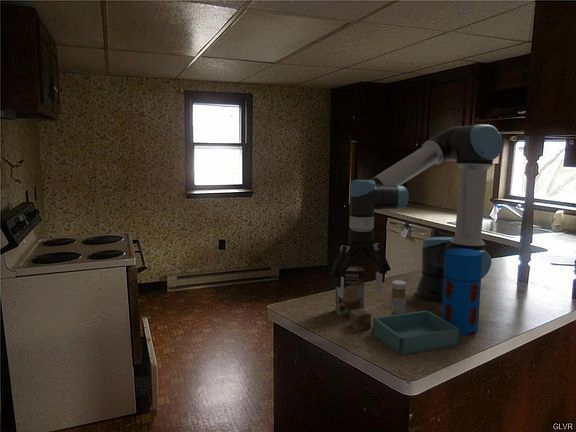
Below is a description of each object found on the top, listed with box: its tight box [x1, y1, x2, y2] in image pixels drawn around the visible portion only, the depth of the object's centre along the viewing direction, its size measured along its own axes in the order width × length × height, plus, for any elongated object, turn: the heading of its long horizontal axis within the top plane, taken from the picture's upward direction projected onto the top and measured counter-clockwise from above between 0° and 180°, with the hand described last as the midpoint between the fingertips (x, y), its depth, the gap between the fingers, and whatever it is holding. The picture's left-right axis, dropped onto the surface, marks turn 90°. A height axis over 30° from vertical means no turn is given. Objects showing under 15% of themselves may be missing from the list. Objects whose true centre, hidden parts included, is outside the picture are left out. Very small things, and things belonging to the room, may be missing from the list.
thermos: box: [441, 248, 482, 336], centre depth 135 cm, size 11×11×25 cm
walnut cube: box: [349, 307, 372, 331], centre depth 139 cm, size 5×5×5 cm
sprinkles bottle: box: [391, 279, 407, 315], centre depth 142 cm, size 5×5×14 cm
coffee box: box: [335, 266, 366, 317], centre depth 150 cm, size 9×6×16 cm
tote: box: [372, 310, 461, 356], centre depth 129 cm, size 20×16×5 cm
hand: (359, 294), depth 137 cm, fingers open, 13 cm apart
